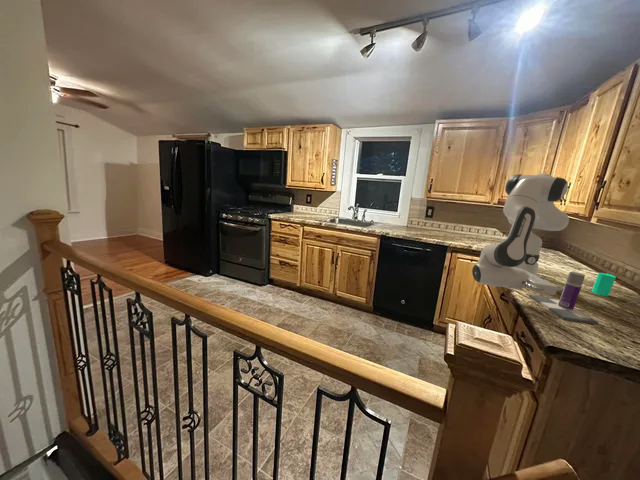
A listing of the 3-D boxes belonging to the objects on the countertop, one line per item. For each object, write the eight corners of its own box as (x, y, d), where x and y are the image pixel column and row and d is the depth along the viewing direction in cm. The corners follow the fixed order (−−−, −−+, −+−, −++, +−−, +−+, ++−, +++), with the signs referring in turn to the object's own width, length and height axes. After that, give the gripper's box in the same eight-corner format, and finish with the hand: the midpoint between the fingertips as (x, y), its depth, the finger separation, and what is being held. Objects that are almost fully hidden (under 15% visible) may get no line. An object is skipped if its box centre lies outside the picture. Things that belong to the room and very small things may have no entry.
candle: (596, 294, 127) (605, 272, 124) (588, 290, 132) (596, 268, 130) (611, 297, 125) (620, 274, 122) (602, 292, 131) (611, 270, 128)
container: (576, 311, 102) (588, 276, 99) (563, 308, 103) (575, 274, 100) (567, 305, 107) (579, 272, 104) (555, 303, 108) (566, 270, 104)
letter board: (528, 296, 116) (529, 294, 116) (557, 300, 114) (558, 298, 114) (562, 319, 97) (563, 316, 96) (597, 324, 95) (598, 321, 95)
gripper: (534, 280, 94) (575, 286, 93) (503, 263, 114) (537, 268, 113) (530, 296, 96) (570, 301, 94) (500, 277, 116) (533, 281, 114)
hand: (551, 283), depth 104 cm, fingers open, 8 cm apart
